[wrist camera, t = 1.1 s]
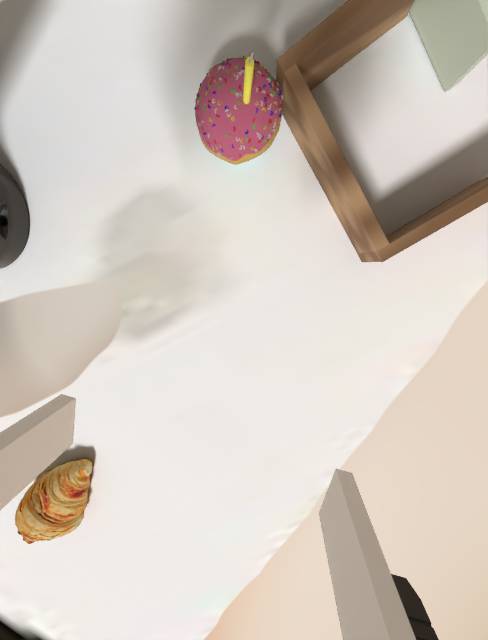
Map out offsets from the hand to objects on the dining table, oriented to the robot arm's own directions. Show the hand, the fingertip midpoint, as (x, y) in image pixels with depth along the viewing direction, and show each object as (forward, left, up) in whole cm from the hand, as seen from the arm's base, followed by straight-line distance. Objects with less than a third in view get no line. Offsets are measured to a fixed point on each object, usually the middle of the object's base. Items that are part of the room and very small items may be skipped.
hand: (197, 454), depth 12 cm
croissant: (+9, -43, -23) cm, 49 cm away
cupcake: (-20, +12, -23) cm, 33 cm away
